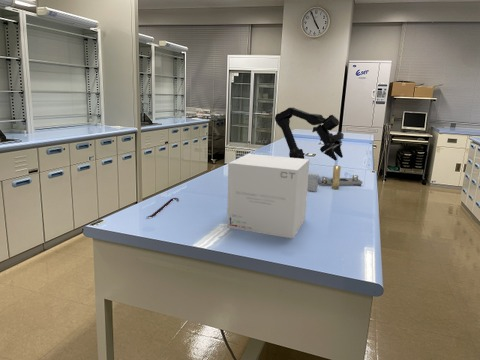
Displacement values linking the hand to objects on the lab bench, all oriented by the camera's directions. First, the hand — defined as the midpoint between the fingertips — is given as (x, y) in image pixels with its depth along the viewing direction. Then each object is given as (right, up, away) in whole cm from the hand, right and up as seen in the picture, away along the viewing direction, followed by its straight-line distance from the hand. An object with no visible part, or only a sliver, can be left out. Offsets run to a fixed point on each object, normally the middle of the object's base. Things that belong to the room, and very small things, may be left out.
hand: (339, 158), depth 203 cm
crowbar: (-86, -24, -46) cm, 101 cm away
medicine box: (-19, -17, -11) cm, 28 cm away
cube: (-44, -28, -60) cm, 79 cm away
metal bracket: (+1, -14, +2) cm, 14 cm away
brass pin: (-4, -16, -7) cm, 18 cm away
